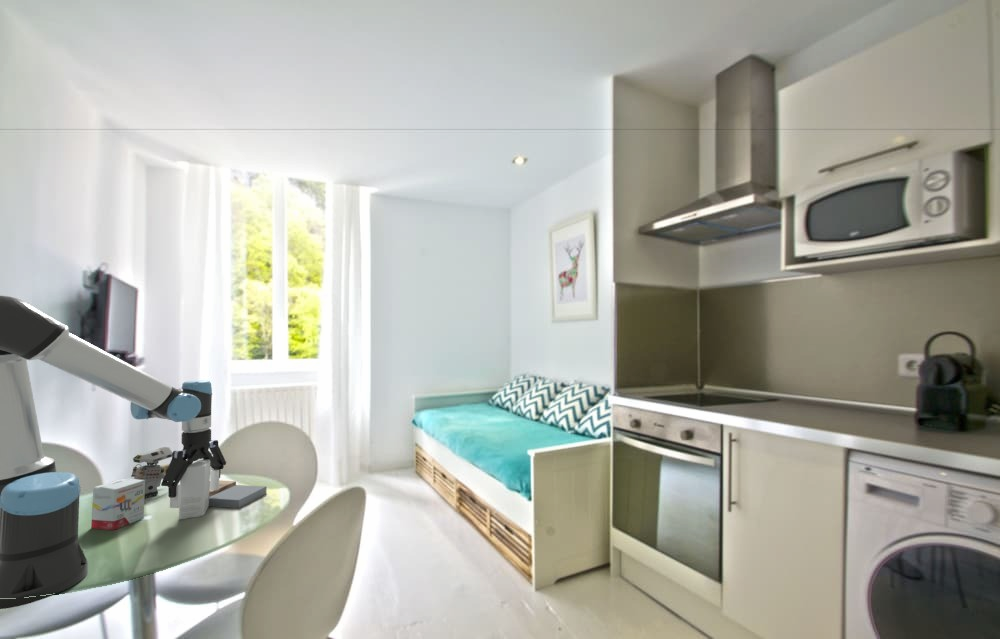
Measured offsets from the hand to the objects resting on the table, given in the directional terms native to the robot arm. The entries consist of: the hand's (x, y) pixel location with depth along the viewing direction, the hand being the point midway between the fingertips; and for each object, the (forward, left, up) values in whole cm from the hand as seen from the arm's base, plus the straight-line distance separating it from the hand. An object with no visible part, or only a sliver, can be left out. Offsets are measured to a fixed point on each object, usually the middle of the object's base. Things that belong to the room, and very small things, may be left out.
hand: (195, 498), depth 126 cm
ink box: (-9, +17, -5) cm, 20 cm away
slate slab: (+11, -5, -4) cm, 13 cm away
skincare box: (0, 0, -5) cm, 5 cm away
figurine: (+13, +31, -5) cm, 34 cm away
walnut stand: (+14, +8, -4) cm, 17 cm away
